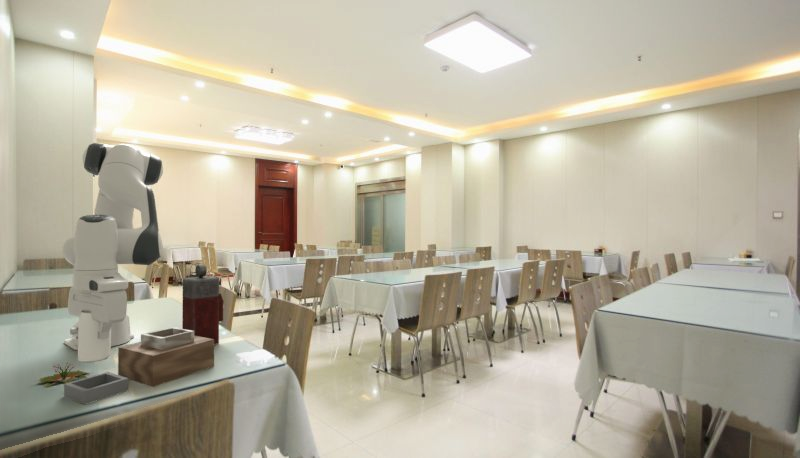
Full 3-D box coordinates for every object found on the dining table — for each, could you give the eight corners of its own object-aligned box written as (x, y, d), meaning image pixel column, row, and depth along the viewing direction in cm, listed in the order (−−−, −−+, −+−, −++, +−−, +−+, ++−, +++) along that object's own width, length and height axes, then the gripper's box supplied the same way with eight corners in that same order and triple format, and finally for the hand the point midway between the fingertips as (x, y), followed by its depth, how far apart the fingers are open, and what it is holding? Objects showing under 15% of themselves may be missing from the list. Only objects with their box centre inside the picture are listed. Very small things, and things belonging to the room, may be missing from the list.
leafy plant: (85, 369, 119) (85, 354, 119) (97, 379, 111) (97, 362, 111) (29, 381, 109) (30, 364, 109) (38, 393, 102) (38, 374, 102)
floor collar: (63, 396, 99) (63, 384, 99) (107, 383, 107) (107, 371, 107) (84, 404, 94) (84, 391, 94) (128, 390, 102) (128, 378, 102)
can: (91, 364, 97) (92, 313, 97) (70, 361, 98) (72, 311, 98) (116, 356, 103) (118, 308, 103) (97, 353, 105) (98, 306, 105)
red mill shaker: (225, 341, 147) (225, 264, 147) (193, 348, 138) (194, 266, 139) (213, 337, 153) (213, 263, 153) (181, 344, 144) (182, 264, 144)
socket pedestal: (118, 376, 112) (118, 336, 112) (180, 358, 128) (180, 323, 128) (152, 386, 105) (153, 343, 105) (214, 366, 121) (214, 329, 121)
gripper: (60, 278, 103) (59, 333, 103) (103, 285, 93) (102, 346, 93) (89, 276, 108) (88, 328, 108) (132, 282, 99) (131, 339, 99)
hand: (95, 336), depth 101 cm, fingers closed on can, 6 cm apart
